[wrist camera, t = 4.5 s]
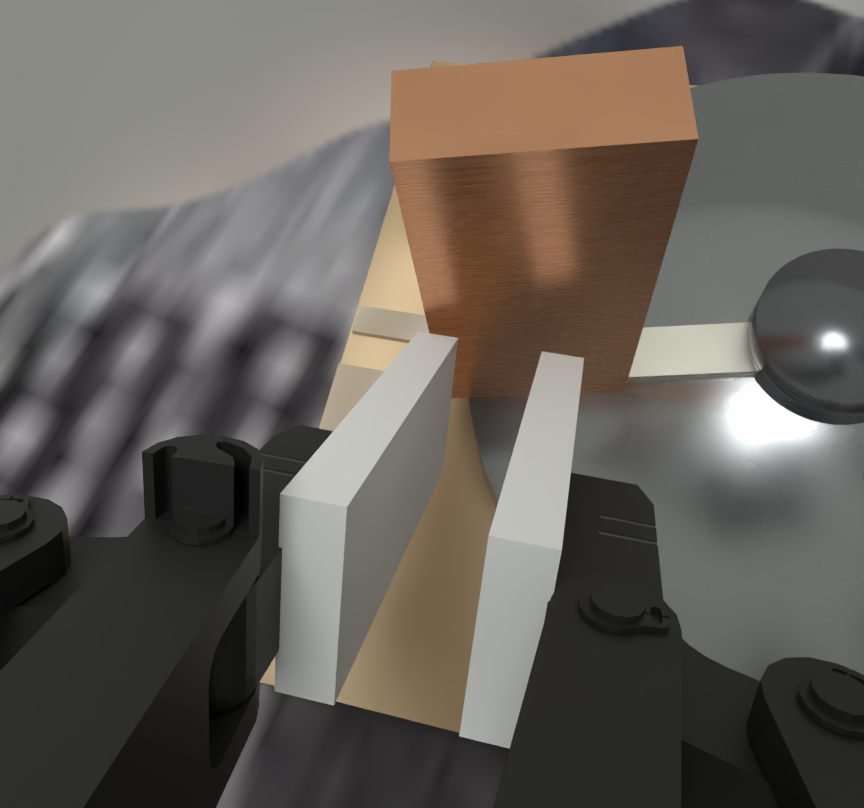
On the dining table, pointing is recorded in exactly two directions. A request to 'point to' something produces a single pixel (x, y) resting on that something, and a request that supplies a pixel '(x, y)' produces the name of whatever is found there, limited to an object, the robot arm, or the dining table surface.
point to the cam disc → (665, 311)
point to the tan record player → (438, 527)
